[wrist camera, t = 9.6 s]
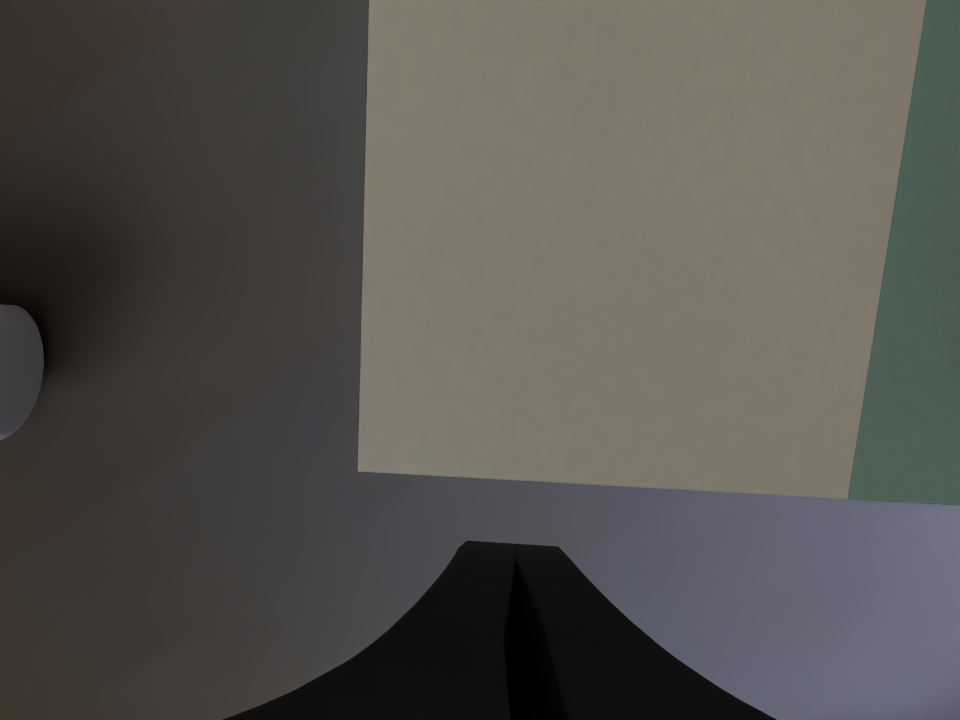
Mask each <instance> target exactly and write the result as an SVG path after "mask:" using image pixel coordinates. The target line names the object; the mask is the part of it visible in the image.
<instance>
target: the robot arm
mask: <svg viewBox="0 0 960 720" xmlns="http://www.w3.org/2000/svg"><path fill="white" fill-rule="evenodd" d="M223 720H776V719H774V718H772V717H771V716H769V715H767V714H765V713H763V712H761V711H759V710H758V709H756V708H754V707H752V706H750V705H748V704H746V703H745V702H743V701H741V700H739V699H738V698H736V697H734V696H733V695H731V694H729V693H727V692H726V691H724V690H722V689H721V688H719V687H718V686H716V685H714V684H713V683H712V682H710V681H709V680H707V679H706V678H704V677H703V676H701V675H700V674H698V673H697V672H695V671H694V670H692V669H691V668H689V667H688V666H686V665H685V664H683V663H682V662H681V661H679V660H678V659H676V658H675V657H674V656H672V655H671V654H670V653H668V652H667V651H666V650H665V649H663V648H662V647H661V646H660V645H658V644H657V643H656V642H655V641H654V640H652V639H651V638H650V637H649V636H648V635H646V634H645V633H644V632H643V631H642V630H640V629H639V628H638V627H637V626H636V625H635V624H633V623H632V622H631V621H630V620H629V619H628V618H627V617H626V616H625V615H624V614H622V613H621V612H620V611H619V610H618V609H617V608H616V607H615V606H614V605H613V604H612V603H611V602H610V601H609V600H608V599H607V598H606V597H605V596H604V595H603V594H602V593H601V592H600V591H599V590H598V589H597V588H596V587H595V586H594V585H593V584H592V583H591V582H590V581H589V580H588V578H587V577H586V576H585V575H584V574H583V573H582V572H581V571H580V570H579V569H578V568H577V566H576V565H575V564H574V563H573V562H572V561H571V560H570V559H569V558H568V556H567V555H566V554H565V553H564V552H563V551H562V550H561V549H560V548H559V547H555V546H540V545H525V544H509V543H494V542H479V541H466V542H465V543H464V544H463V545H461V546H460V547H459V548H458V550H457V552H456V554H455V555H454V557H453V559H452V560H451V562H450V563H449V564H448V566H447V567H446V568H445V570H444V571H443V572H442V574H441V575H440V576H439V578H438V579H437V580H436V581H435V582H434V583H433V585H432V586H431V587H430V588H429V589H428V590H427V592H426V593H425V594H424V595H423V596H422V597H421V598H420V600H419V601H418V602H417V603H416V604H415V605H414V606H413V607H412V608H411V609H410V610H409V611H408V612H407V613H406V614H405V615H403V616H402V617H401V618H400V619H399V620H398V621H397V622H396V623H395V624H394V625H393V626H392V627H391V628H390V629H389V630H388V631H387V632H385V633H384V634H383V635H382V636H381V637H379V638H378V639H377V640H376V641H375V642H373V643H372V644H371V645H370V646H368V647H367V648H365V649H364V650H363V651H361V652H360V653H358V654H357V655H356V656H354V657H353V658H351V659H350V660H348V661H346V662H345V663H343V664H341V665H340V666H338V667H336V668H334V669H332V670H331V671H329V672H327V673H325V674H323V675H322V676H320V677H318V678H316V679H314V680H313V681H311V682H309V683H307V684H305V685H303V686H302V687H300V688H298V689H296V690H294V691H292V692H290V693H288V694H286V695H283V696H281V697H279V698H276V699H274V700H272V701H270V702H267V703H265V704H263V705H260V706H258V707H255V708H253V709H250V710H247V711H245V712H242V713H240V714H237V715H234V716H232V717H229V718H226V719H223Z"/></svg>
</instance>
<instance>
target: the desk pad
mask: <svg viewBox="0 0 960 720" xmlns="http://www.w3.org/2000/svg"><path fill="white" fill-rule="evenodd" d="M358 471H363V472H381V473H398V474H416V475H433V476H451V477H469V478H486V479H504V480H521V481H539V482H557V483H574V484H592V485H609V486H627V487H644V488H662V489H680V490H697V491H715V492H732V493H750V494H768V495H785V496H803V497H820V498H838V499H855V500H873V501H891V502H908V503H926V504H943V505H960V0H369V33H368V74H367V116H366V157H365V199H364V240H363V281H362V323H361V364H360V405H359V447H358Z"/></svg>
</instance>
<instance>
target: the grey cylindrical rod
mask: <svg viewBox="0 0 960 720" xmlns="http://www.w3.org/2000/svg"><path fill="white" fill-rule="evenodd" d="M43 369H44V354H43V344H42V340H41V336H40V333H39V330H38V327H37V325H36V323H35V322H34V320H33V319H32V317H31V316H30V315H29V314H28V313H27V311H25V310H24V309H22V308H21V307H18V306H15V305H6V304H0V439H4V438H6V437H8V436H10V435H11V434H13V433H14V432H15V431H16V430H17V429H19V428H20V427H21V425H22V424H23V423H24V422H25V420H26V419H27V418H28V416H29V415H30V413H31V412H32V410H33V408H34V406H35V404H36V401H37V398H38V394H39V391H40V388H41V384H42V378H43Z"/></svg>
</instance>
